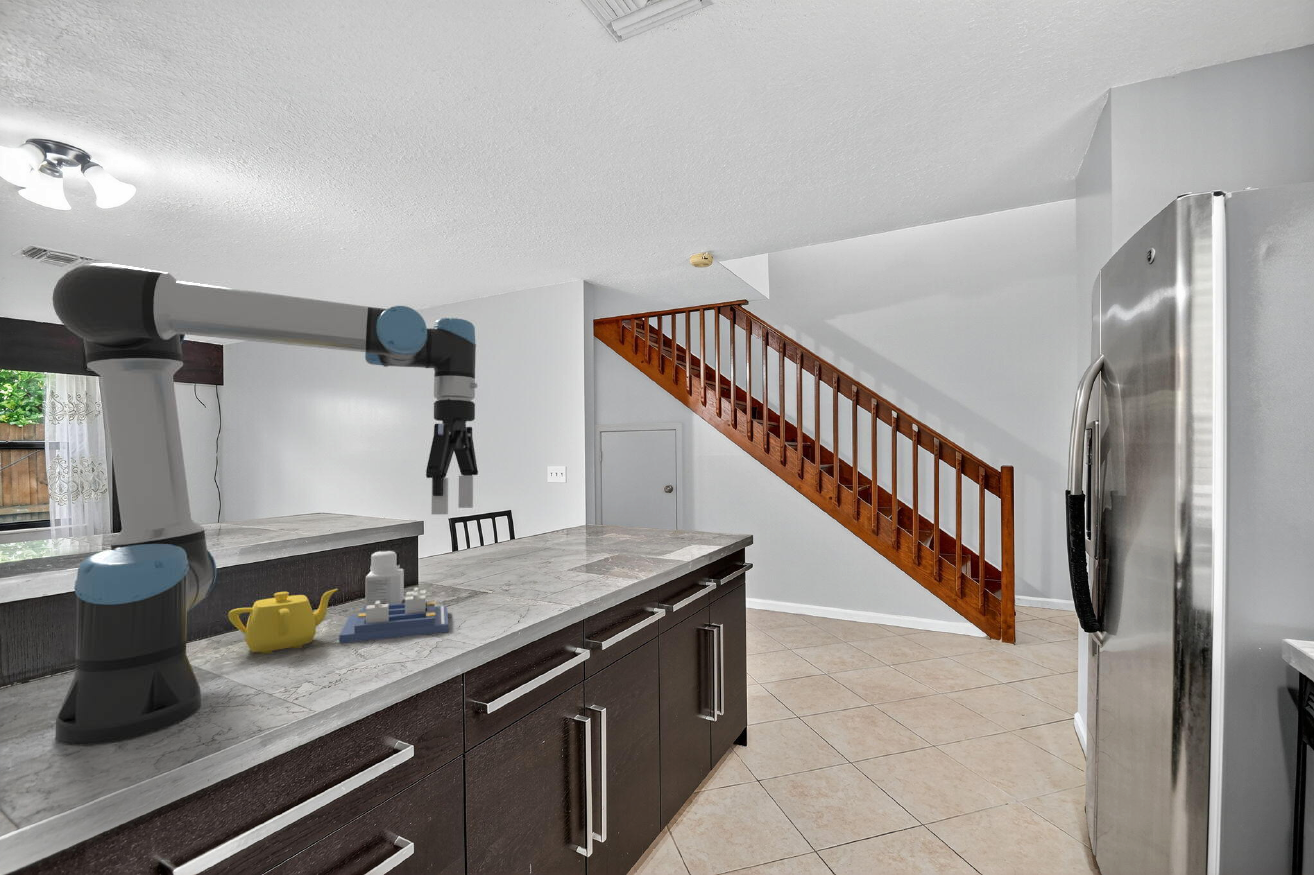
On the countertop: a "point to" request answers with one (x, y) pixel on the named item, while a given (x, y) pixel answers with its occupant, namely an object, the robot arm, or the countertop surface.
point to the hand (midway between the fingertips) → (453, 511)
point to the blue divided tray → (396, 623)
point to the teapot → (280, 622)
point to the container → (384, 578)
